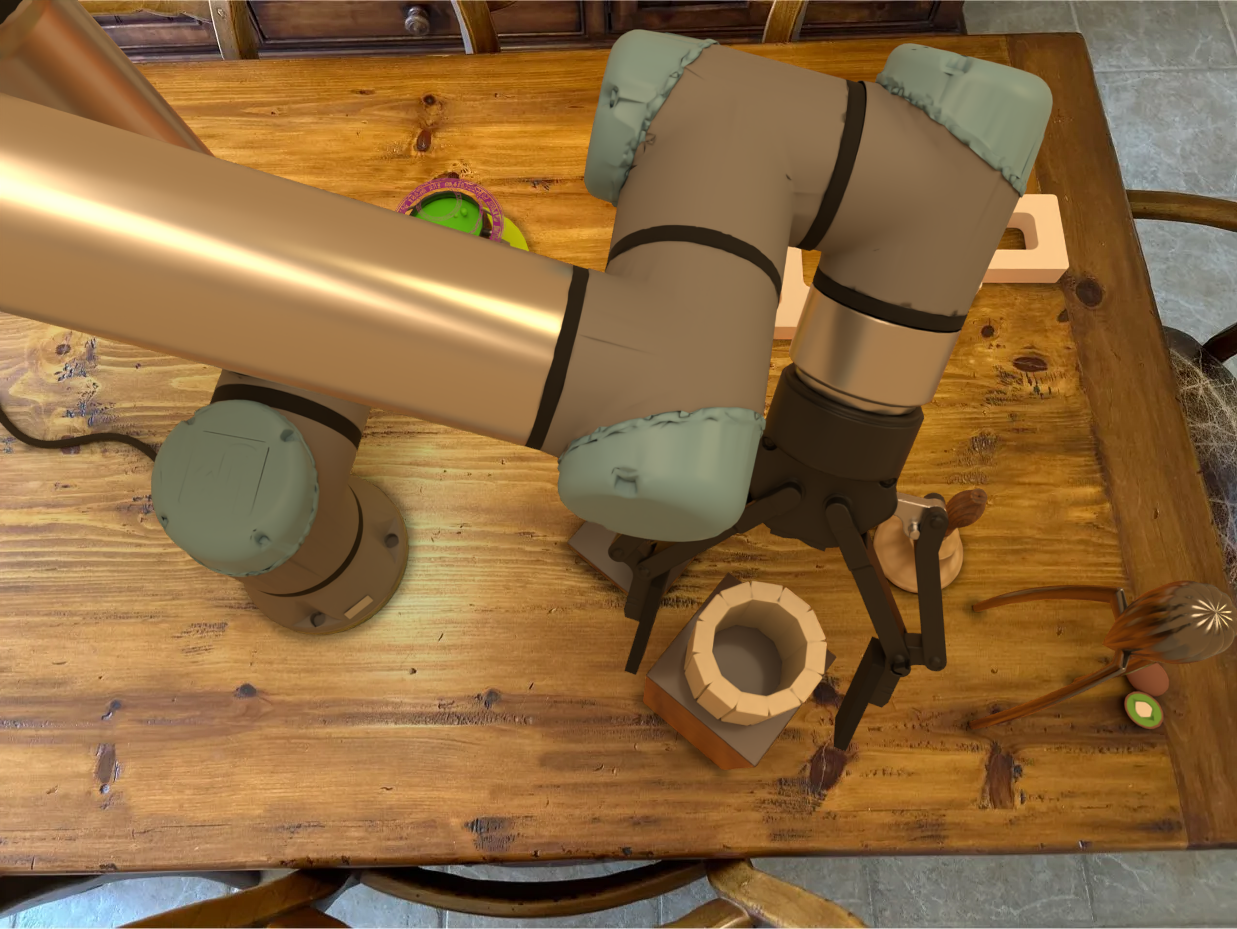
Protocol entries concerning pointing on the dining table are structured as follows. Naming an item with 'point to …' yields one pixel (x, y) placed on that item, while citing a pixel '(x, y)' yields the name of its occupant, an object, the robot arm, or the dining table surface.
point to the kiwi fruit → (1146, 695)
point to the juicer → (1135, 632)
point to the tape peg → (594, 550)
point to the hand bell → (961, 512)
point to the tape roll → (778, 621)
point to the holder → (1007, 266)
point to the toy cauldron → (464, 212)
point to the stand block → (744, 665)
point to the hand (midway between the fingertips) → (736, 697)
